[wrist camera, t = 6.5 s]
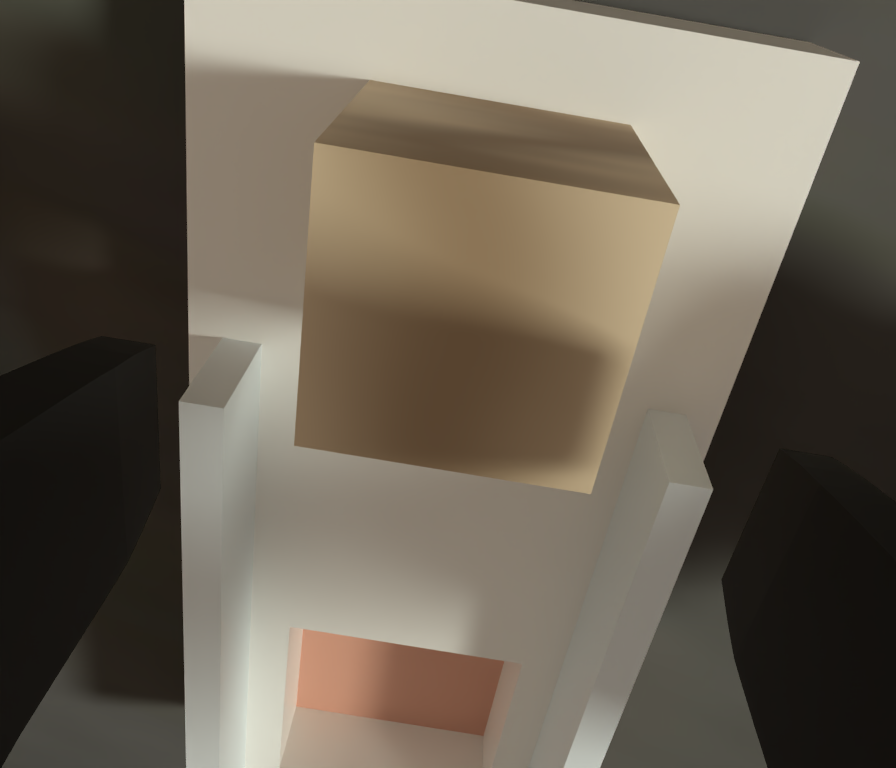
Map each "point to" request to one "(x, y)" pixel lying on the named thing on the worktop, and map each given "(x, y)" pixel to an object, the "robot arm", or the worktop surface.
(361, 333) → the block
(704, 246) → the white tray
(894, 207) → the worktop surface
